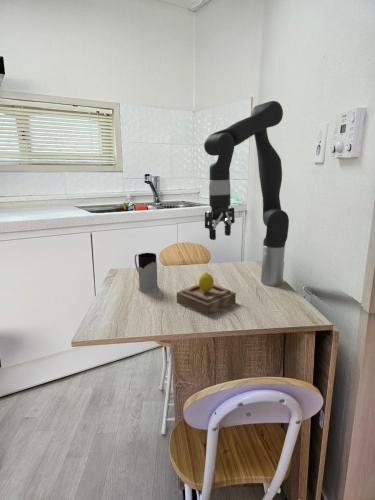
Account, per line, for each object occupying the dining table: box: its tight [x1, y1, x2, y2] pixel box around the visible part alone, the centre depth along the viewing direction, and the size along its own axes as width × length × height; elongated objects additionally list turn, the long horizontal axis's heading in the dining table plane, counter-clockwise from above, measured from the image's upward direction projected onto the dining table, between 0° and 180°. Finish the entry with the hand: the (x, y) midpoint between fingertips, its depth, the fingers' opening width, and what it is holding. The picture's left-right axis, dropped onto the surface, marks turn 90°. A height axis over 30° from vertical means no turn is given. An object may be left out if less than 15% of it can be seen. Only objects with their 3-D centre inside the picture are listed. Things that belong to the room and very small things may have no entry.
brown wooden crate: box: [176, 283, 237, 316], centre depth 119 cm, size 16×16×5 cm
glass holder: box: [134, 252, 159, 293], centre depth 134 cm, size 9×14×15 cm, turn 41°
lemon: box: [198, 272, 215, 293], centre depth 118 cm, size 6×6×8 cm
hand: (220, 237), depth 115 cm, fingers open, 8 cm apart
